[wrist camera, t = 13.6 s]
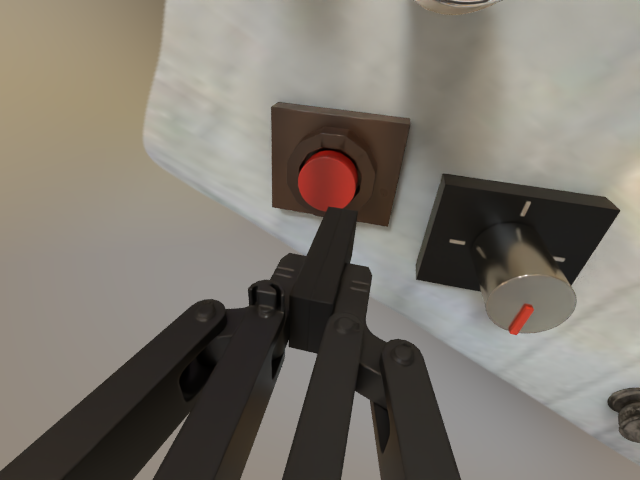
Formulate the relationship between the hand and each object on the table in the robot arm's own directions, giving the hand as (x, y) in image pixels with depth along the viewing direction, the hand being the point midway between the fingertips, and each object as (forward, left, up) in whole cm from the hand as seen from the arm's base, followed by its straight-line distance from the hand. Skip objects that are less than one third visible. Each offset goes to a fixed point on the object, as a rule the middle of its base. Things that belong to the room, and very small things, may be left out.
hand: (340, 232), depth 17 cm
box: (+3, +3, -17) cm, 17 cm away
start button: (+3, +3, -13) cm, 14 cm away
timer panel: (-14, +8, -17) cm, 23 cm away
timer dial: (-14, +8, -14) cm, 22 cm away
